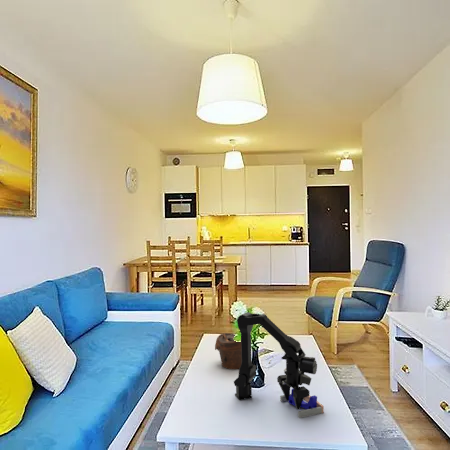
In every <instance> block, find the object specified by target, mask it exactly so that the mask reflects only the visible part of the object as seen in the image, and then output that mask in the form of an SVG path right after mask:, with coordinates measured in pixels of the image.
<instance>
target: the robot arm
mask: <svg viewBox="0 0 450 450" xmlns="http://www.w3.org/2000/svg"><path fill="white" fill-rule="evenodd" d="M236 324H237V328H238V331H239V332H240V336H241V356H242V363H241V366H240V368H239V369H238V376H237V378H236V379H234V381H233V384H234V386H235V391H236V392H235V393H234V395H235V397H236V398H237V399H238V400H239V401H243V400H248V399H252V398H253V394H252V393H253V389H252V384H251V383H252V381H253V379H254V378H255V377H256V375H257V365H254V364H253V361H252V360H253V359H252V330H253V327H254V326H255V325H260V326H261V327H262V328H263V329H264V330H265V331H266V332H268V334H270V335H271V337H272V338H274V340H276V341H277V342H278V344H279V346H280V348H281V350H282V351H283V352H284V354H283V355H282V356H281V360H285V362H286V363H285V368H286V370H285V371H284V370H283V372H284V374H281V375H278V376H277V378H276V379H277V383H278V385H279V386H280V389H281V391H282V393H283V395H284V396H285V398H286V400H288V401H289V396H290V394H291V389H293V394H294V395H293V398H294V401H295V405H296V406H295V407H296V410H297V411H300V410H301V407H300V406H301V404H302V401H304V398H305V397H307V396H309V395H310V396H311V394H310V390H309V389H308V388H307V387H305V386H303V385H307V386H310V385H311V381H312V377H310V376H309V375H310V374H311V375H316V374H317V371H318V364H317V360H316V357H313V356H306V353H305V351H304V350H303V349H302V347H301V343H300V342H299V341H298V340H297V339H295V338H294V337H292V336H290V335H287V334H286V333H285V332H283V331H282V330H281V328H280V327H279V326H278V325H276V324H275V323H274V322H273V321H272V320H271V319H270V318H269V317H268V316H267V314H265V313H261V314H259V313H251V312H249V311H248V312H244V313H242V314H240V315H238V317H237V318H236ZM307 374H309V375H307Z"/></svg>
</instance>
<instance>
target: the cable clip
mask: <svg viewBox="0 0 450 450" xmlns="http://www.w3.org/2000/svg"><path fill="white" fill-rule="evenodd" d="M290 394H291V396H289V400H288V404H291V405H292V406H294V407H296V405H295V401H294V398H293V395H294V394H293V388H291V389H290ZM317 401H318V395H312V396H311V395H310V400H309V402H307V401H305V400H303V401H302V404H301V406H300V408H303V409H304V410H307V409H311V408H316V407H317Z"/></svg>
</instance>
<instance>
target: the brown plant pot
mask: <svg viewBox="0 0 450 450" xmlns="http://www.w3.org/2000/svg"><path fill="white" fill-rule="evenodd" d="M235 335H236V334H234V333H228V332H224V333H221V334H219V335H218V336H217V337H216V340H215V345H214V350H215V351H218V354H219V357H220V362H221V365H222V367H224V368H225V369H228V370H239V369H240V366H241V363H242V356H241V342H236V341H234V340H233V338H234V336H235Z"/></svg>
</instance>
